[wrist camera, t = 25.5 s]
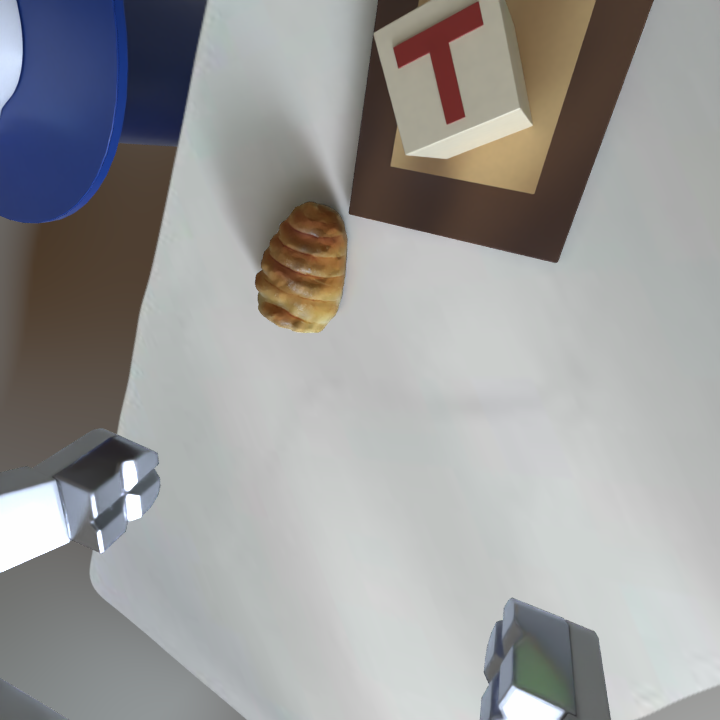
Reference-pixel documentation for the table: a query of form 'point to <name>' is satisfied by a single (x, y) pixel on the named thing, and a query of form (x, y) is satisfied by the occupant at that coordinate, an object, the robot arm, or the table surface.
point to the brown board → (513, 152)
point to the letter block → (454, 76)
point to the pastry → (304, 269)
